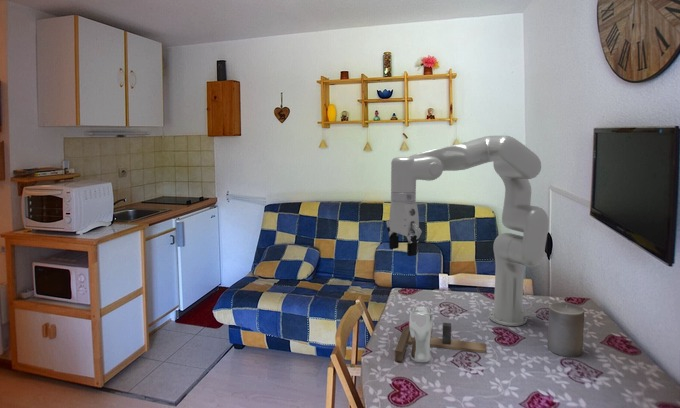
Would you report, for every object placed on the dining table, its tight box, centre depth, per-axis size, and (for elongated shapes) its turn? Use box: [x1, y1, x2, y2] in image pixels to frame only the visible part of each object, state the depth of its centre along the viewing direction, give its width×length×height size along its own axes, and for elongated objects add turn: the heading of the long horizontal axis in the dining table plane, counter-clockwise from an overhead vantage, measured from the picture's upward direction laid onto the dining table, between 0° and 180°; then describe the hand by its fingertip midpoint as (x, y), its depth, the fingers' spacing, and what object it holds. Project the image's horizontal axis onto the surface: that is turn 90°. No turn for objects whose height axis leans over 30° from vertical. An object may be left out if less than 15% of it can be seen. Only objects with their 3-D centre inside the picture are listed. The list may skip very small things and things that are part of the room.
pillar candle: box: [547, 301, 585, 358], centre depth 134 cm, size 10×10×15 cm
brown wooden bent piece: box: [394, 322, 487, 362], centre depth 133 cm, size 26×18×7 cm
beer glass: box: [408, 305, 434, 363], centre depth 130 cm, size 7×7×15 cm
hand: (402, 251), depth 136 cm, fingers open, 9 cm apart
